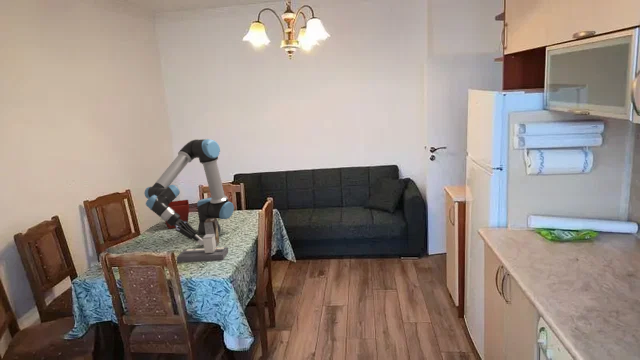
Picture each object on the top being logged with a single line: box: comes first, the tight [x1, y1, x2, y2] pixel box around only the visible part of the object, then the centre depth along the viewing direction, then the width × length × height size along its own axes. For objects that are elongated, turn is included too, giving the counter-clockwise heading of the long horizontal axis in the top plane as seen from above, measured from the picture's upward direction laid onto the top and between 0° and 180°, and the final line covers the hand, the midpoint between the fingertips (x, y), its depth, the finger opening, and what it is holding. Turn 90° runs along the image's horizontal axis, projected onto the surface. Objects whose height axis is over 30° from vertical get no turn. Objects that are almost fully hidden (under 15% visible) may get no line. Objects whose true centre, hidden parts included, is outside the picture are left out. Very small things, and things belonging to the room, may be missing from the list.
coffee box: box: [204, 218, 220, 248], centre depth 261 cm, size 9×6×16 cm
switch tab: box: [202, 234, 217, 253], centre depth 241 cm, size 5×6×9 cm
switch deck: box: [176, 246, 229, 263], centre depth 242 cm, size 26×12×3 cm, turn 88°
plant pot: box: [164, 199, 190, 230], centre depth 309 cm, size 19×19×17 cm
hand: (203, 243), depth 241 cm, fingers closed
